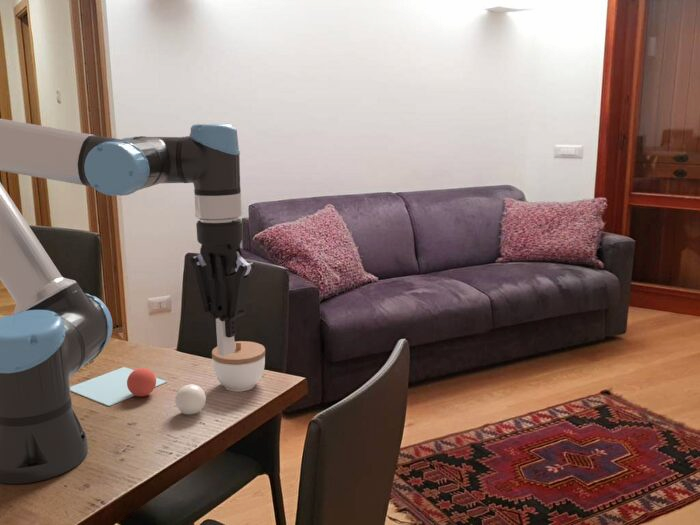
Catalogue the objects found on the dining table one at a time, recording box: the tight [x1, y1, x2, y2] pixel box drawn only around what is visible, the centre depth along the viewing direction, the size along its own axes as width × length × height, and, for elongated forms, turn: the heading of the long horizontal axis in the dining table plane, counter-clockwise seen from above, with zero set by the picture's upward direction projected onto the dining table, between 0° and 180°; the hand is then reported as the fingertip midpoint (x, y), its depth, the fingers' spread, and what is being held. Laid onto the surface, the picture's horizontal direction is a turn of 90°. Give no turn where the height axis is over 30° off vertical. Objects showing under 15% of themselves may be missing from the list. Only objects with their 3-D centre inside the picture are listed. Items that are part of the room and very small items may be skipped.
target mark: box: [70, 366, 168, 407], centre depth 136 cm, size 14×14×1 cm
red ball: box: [127, 367, 157, 397], centre depth 131 cm, size 6×6×6 cm
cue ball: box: [175, 383, 207, 415], centre depth 123 cm, size 6×6×6 cm
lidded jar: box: [211, 340, 266, 393], centre depth 135 cm, size 11×11×9 cm
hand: (226, 353), depth 116 cm, fingers closed
